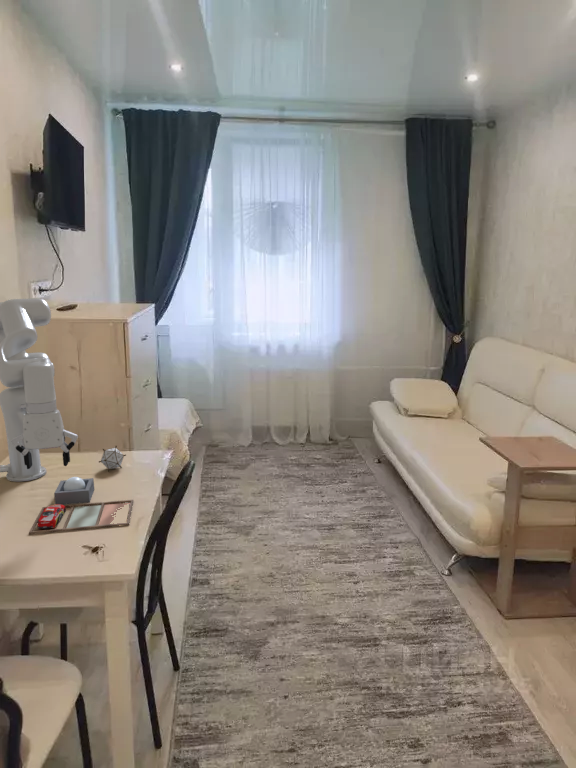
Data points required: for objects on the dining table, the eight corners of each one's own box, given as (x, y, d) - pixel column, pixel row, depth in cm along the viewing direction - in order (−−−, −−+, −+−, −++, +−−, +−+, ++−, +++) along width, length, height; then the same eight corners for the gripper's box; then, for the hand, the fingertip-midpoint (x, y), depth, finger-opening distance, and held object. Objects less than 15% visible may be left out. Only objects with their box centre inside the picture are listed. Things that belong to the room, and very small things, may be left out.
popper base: (55, 505, 167) (54, 493, 166) (61, 492, 176) (60, 480, 175) (89, 502, 169) (88, 490, 168) (94, 489, 178) (93, 478, 177)
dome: (62, 501, 169) (60, 482, 167) (66, 493, 175) (64, 474, 174) (84, 499, 170) (82, 480, 169) (87, 491, 176) (86, 473, 175)
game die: (108, 479, 196) (88, 460, 193) (120, 464, 203) (101, 445, 200) (123, 472, 191) (103, 452, 188) (135, 456, 198) (116, 436, 195)
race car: (49, 511, 164) (48, 498, 163) (68, 510, 164) (67, 497, 163) (34, 532, 151) (33, 518, 150) (54, 531, 151) (53, 517, 151)
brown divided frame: (28, 534, 149) (28, 532, 149) (42, 509, 164) (42, 507, 164) (129, 525, 154) (129, 523, 154) (133, 501, 169) (133, 499, 169)
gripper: (3, 412, 145) (11, 473, 149) (72, 408, 148) (78, 468, 152) (11, 405, 152) (18, 463, 156) (77, 402, 156) (82, 459, 159)
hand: (48, 465), depth 154 cm, fingers open, 9 cm apart
